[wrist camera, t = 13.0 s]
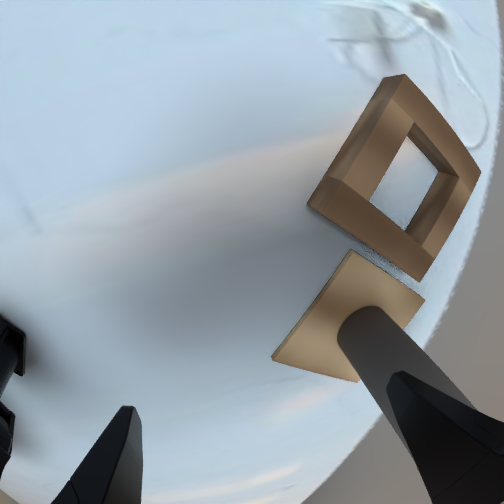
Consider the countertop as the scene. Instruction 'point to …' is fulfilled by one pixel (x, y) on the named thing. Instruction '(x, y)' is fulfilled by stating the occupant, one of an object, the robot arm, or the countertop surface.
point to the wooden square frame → (376, 164)
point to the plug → (388, 358)
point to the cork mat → (344, 316)
